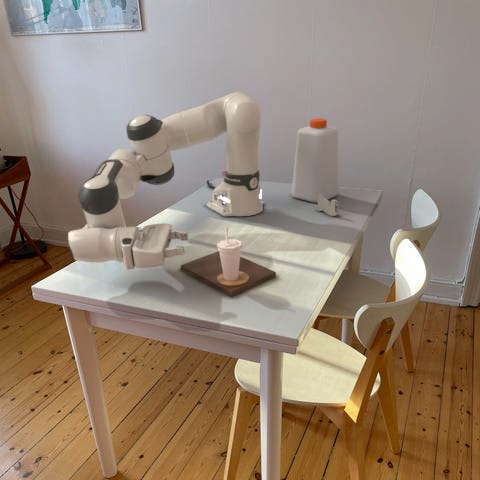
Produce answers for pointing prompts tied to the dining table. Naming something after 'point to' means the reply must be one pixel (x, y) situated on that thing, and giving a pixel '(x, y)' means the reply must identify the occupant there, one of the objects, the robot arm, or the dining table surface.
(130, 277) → the dining table surface
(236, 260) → the smoothie
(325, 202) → the duck shaped cutout
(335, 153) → the plastic bottle
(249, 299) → the dining table surface
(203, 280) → the serving board
